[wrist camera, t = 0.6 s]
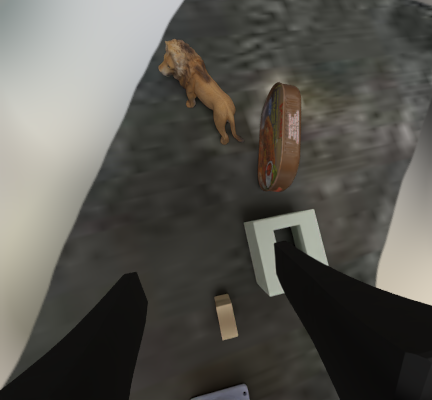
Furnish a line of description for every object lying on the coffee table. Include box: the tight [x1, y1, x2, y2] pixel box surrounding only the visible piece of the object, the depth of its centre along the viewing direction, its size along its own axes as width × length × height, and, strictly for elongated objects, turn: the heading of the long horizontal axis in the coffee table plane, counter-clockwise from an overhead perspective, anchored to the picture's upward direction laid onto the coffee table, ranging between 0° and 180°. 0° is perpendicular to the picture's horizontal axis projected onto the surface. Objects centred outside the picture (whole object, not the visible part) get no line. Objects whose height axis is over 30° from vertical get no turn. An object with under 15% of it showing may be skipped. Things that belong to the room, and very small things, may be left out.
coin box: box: [244, 209, 328, 296], centre depth 29 cm, size 9×8×6 cm
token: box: [214, 294, 238, 340], centre depth 29 cm, size 4×2×4 cm, turn 12°
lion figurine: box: [159, 39, 244, 145], centre depth 29 cm, size 15×5×9 cm, turn 50°
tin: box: [258, 82, 301, 192], centre depth 30 cm, size 15×3×8 cm, turn 175°
